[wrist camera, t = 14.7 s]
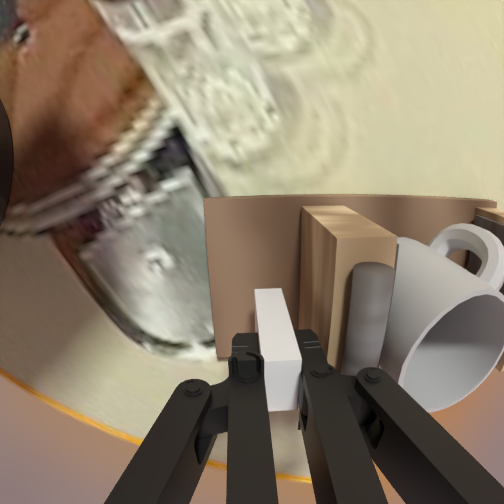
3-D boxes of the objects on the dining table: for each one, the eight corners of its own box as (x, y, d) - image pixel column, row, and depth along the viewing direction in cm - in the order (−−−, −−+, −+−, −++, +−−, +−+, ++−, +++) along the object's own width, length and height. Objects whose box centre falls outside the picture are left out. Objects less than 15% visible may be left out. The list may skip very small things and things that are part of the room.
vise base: (217, 349, 22) (211, 431, 15) (205, 197, 19) (183, 229, 11) (467, 321, 23) (518, 369, 16) (489, 199, 20) (560, 224, 12)
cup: (321, 300, 20) (367, 390, 12) (412, 179, 18) (509, 205, 10) (388, 344, 22) (441, 423, 13) (467, 241, 20) (550, 287, 11)
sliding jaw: (297, 350, 21) (323, 445, 13) (301, 206, 18) (351, 251, 10) (338, 346, 21) (379, 435, 13) (350, 205, 18) (425, 247, 10)
